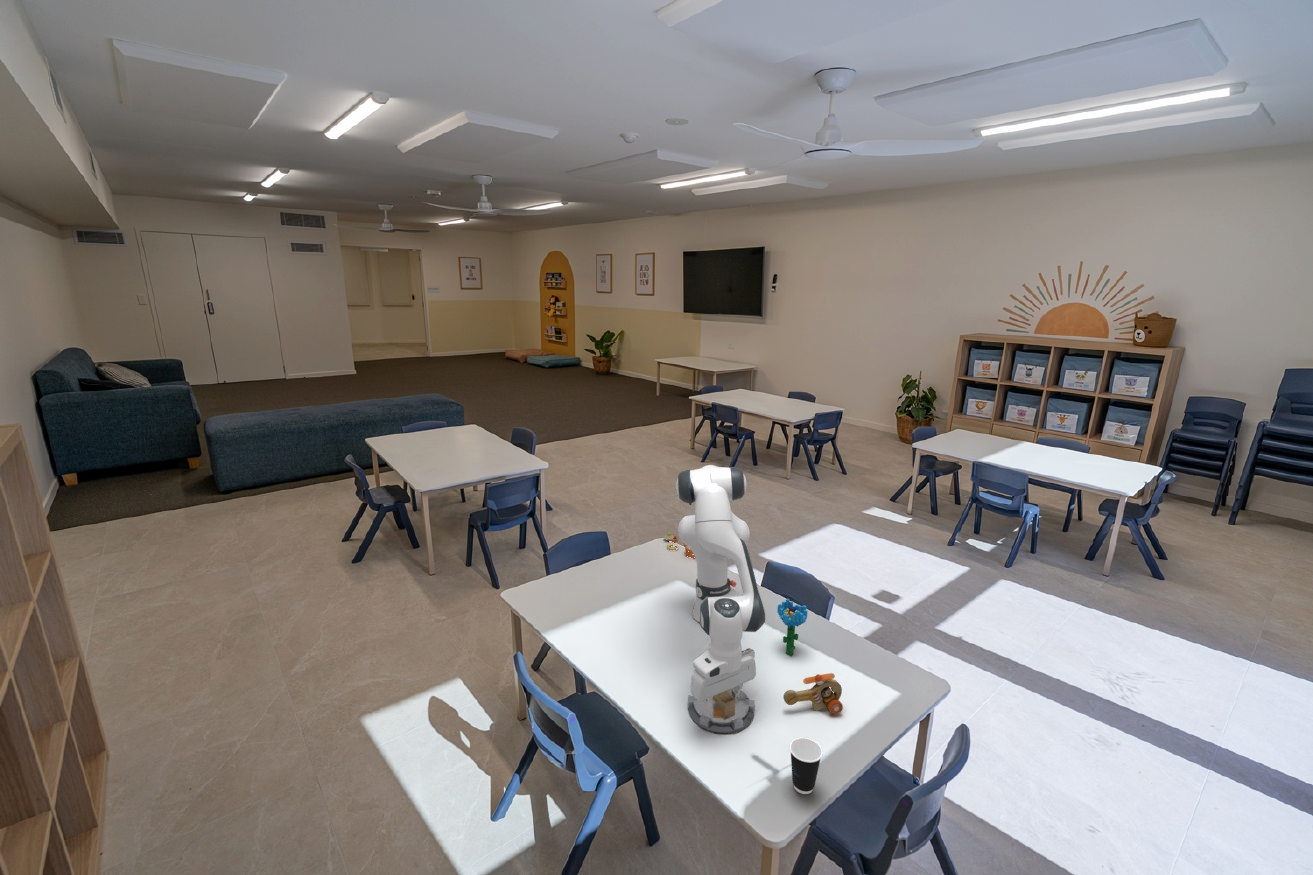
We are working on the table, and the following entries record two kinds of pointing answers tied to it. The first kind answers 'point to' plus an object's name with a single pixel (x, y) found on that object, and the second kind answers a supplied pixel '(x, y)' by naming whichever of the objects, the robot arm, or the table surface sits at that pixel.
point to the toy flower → (791, 621)
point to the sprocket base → (721, 729)
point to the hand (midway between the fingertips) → (723, 701)
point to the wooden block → (724, 704)
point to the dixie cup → (805, 763)
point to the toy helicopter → (818, 693)
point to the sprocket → (715, 718)
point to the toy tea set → (669, 538)
